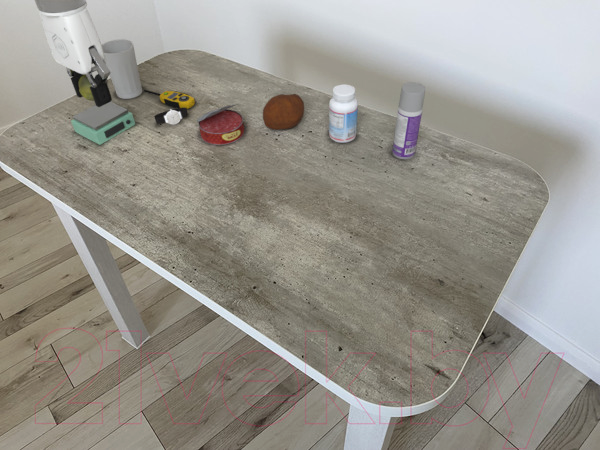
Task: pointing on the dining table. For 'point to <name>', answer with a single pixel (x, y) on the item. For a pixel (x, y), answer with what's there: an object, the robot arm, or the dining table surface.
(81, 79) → the lime
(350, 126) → the pill bottle
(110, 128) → the scale
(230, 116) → the canned food
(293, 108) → the potato
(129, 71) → the cup
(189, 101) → the yellow walkie talkie
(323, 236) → the dining table surface
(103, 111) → the scale pan
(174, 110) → the watch
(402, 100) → the container
